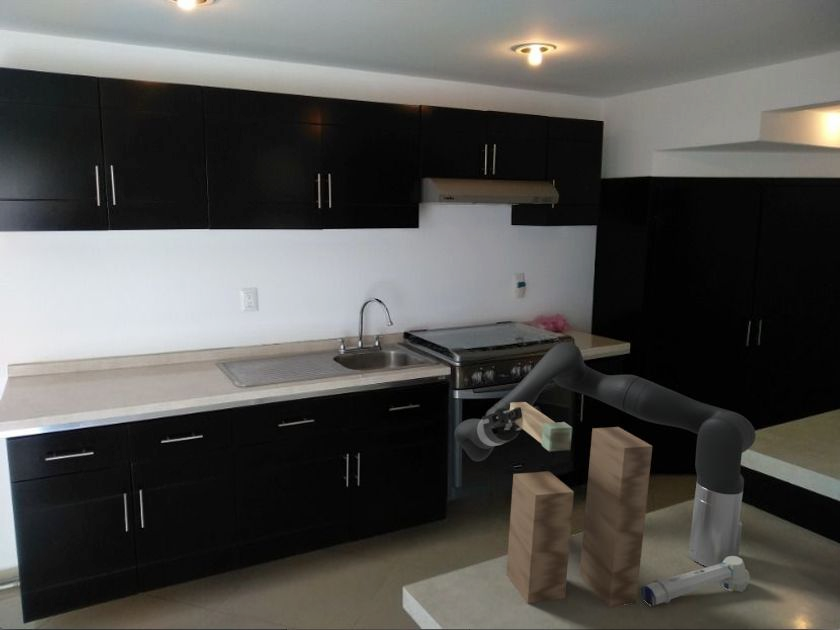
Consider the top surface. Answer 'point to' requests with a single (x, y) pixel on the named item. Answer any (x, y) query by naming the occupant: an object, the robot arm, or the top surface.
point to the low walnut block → (539, 536)
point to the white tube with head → (698, 581)
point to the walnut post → (615, 514)
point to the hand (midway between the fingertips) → (529, 411)
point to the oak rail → (543, 428)
